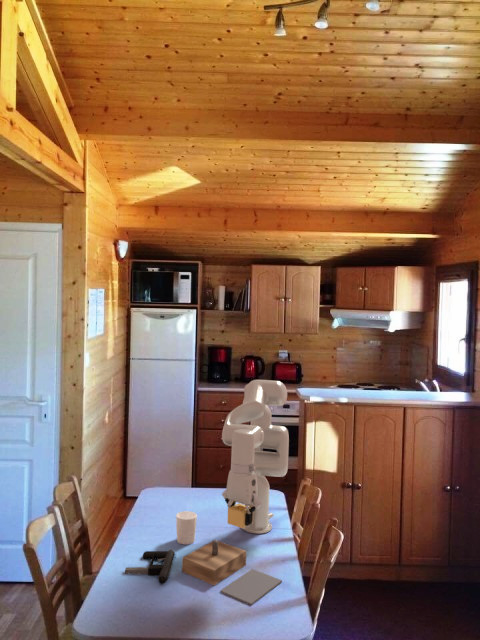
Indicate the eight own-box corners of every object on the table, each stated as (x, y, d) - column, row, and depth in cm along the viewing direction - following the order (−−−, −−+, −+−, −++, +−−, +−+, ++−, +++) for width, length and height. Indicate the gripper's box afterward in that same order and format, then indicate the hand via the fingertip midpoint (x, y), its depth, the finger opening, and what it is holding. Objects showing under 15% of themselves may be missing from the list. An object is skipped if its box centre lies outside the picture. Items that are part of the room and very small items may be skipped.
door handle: (120, 576, 175) (170, 575, 175) (133, 548, 195) (178, 548, 195) (121, 586, 175) (170, 585, 175) (134, 557, 195) (178, 557, 195)
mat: (252, 570, 186) (252, 569, 186) (281, 582, 179) (282, 580, 179) (220, 592, 171) (220, 590, 171) (251, 605, 164) (251, 603, 164)
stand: (214, 553, 198) (215, 527, 198) (245, 565, 190) (246, 538, 190) (181, 571, 183) (182, 544, 183) (214, 585, 175) (215, 556, 175)
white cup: (192, 546, 203) (193, 520, 203) (172, 543, 204) (173, 517, 204) (198, 537, 211) (199, 512, 210) (179, 535, 212) (180, 510, 212)
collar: (238, 518, 182) (238, 503, 182) (252, 522, 179) (253, 507, 179) (227, 523, 178) (227, 508, 178) (242, 528, 174) (242, 512, 174)
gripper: (270, 470, 176) (268, 525, 176) (228, 460, 186) (227, 512, 186) (257, 475, 170) (255, 532, 170) (215, 464, 180) (213, 518, 180)
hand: (240, 521), depth 178 cm, fingers closed on collar, 5 cm apart
